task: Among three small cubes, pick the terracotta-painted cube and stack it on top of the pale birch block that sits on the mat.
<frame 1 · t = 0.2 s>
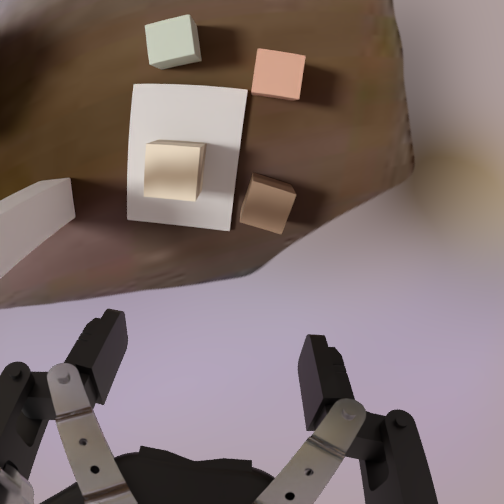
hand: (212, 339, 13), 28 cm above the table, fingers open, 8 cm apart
sage block: (179, 47, 31), on the table
birch block: (180, 164, 37), point 1 cm above the table, touching mat
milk: (58, 198, 39), on the table
terracotta block: (275, 78, 33), on the table
walnut block: (265, 196, 39), on the table
mat: (181, 156, 37), on the table
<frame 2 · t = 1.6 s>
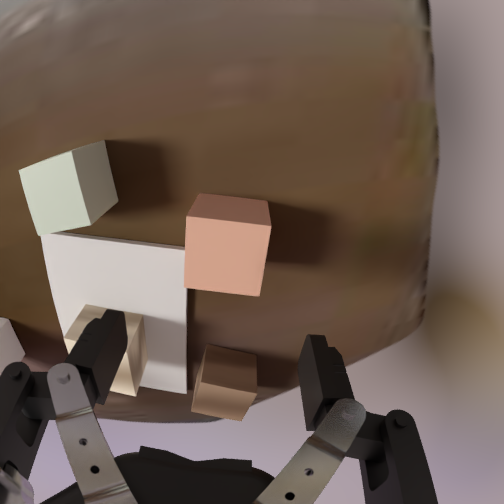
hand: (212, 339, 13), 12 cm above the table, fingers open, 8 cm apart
sage block: (85, 177, 22), on the table
birch block: (117, 333, 28), point 1 cm above the table, touching mat
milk: (3, 332, 30), on the table
terracotta block: (229, 227, 24), on the table
walnut block: (225, 365, 30), on the table
mat: (117, 321, 28), on the table
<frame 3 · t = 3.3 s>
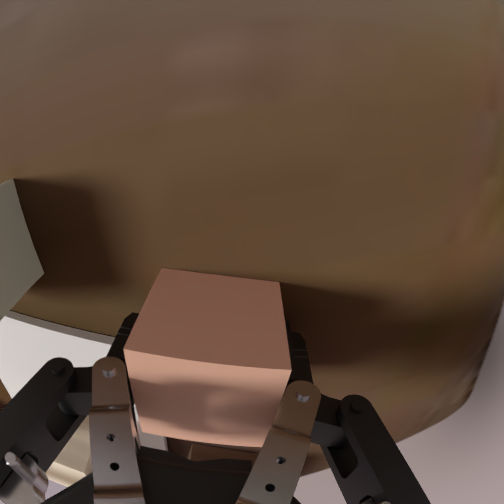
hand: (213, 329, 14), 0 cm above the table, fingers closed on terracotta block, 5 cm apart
birch block: (78, 423, 18), point 1 cm above the table, touching mat
terracotta block: (215, 321, 14), on the table, touching gripper
walnut block: (218, 460, 21), on the table
mat: (77, 410, 18), on the table
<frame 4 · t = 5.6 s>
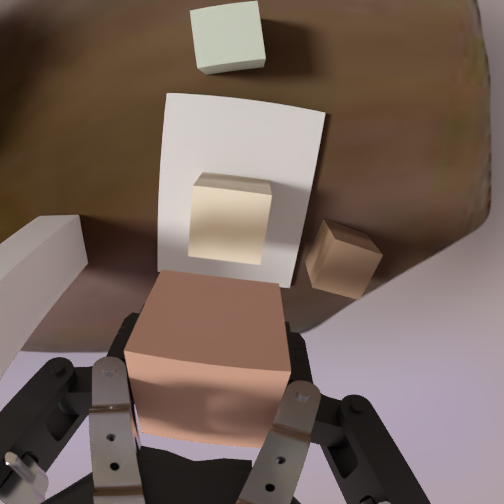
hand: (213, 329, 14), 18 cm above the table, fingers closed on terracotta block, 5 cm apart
sage block: (231, 45, 23), on the table
birch block: (231, 206, 29), point 1 cm above the table, touching mat
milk: (64, 238, 31), on the table
terracotta block: (215, 322, 14), point 17 cm above the table, touching gripper
walnut block: (335, 247, 31), on the table
mat: (233, 194, 29), on the table
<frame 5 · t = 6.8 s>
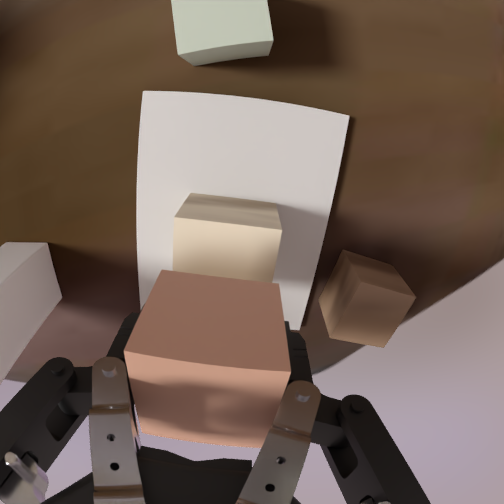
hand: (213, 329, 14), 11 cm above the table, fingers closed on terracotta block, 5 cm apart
sage block: (226, 28, 17), on the table
birch block: (228, 236, 23), point 1 cm above the table, touching mat
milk: (34, 268, 25), on the table
terracotta block: (215, 322, 14), point 10 cm above the table, touching gripper
walnut block: (355, 282, 25), on the table
mat: (230, 221, 23), on the table
when the fingers open (7 cm above the table, at t = 7.9 s): terracotta block stays where it is, resting on birch block.
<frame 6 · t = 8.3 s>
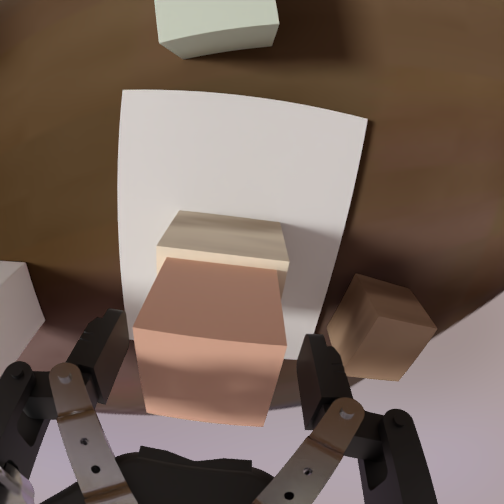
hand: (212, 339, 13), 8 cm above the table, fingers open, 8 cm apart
sage block: (221, 14, 14), on the table
birch block: (224, 261, 20), point 1 cm above the table, touching mat, terracotta block
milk: (14, 288, 22), on the table
terracotta block: (217, 308, 15), point 6 cm above the table, touching birch block
walnut block: (368, 308, 22), on the table
mat: (226, 242, 20), on the table
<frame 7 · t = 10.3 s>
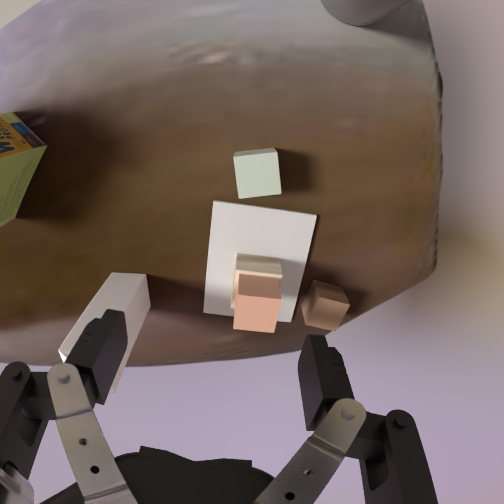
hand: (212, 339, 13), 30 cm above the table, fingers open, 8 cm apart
sage block: (256, 168, 40), on the table
birch block: (255, 274, 45), point 1 cm above the table, touching mat, terracotta block
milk: (131, 288, 47), on the table
protein box: (12, 165, 38), on the table
terracotta block: (255, 292, 41), point 6 cm above the table, touching birch block
walnut block: (321, 296, 48), on the table
mat: (255, 266, 46), on the table
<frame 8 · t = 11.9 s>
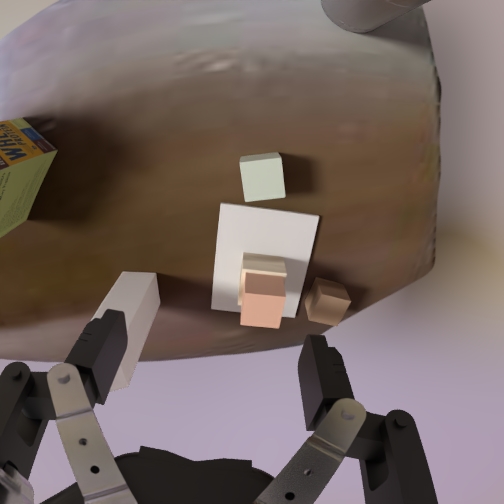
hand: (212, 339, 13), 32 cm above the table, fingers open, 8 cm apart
sage block: (261, 172, 42), on the table
birch block: (260, 272, 48), point 1 cm above the table, touching mat, terracotta block
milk: (142, 286, 50), on the table
protein box: (22, 169, 40), on the table
terracotta block: (261, 289, 43), point 6 cm above the table, touching birch block
walnut block: (323, 292, 50), on the table
mat: (261, 264, 48), on the table
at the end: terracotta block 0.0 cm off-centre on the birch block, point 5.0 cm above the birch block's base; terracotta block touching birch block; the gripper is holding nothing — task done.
